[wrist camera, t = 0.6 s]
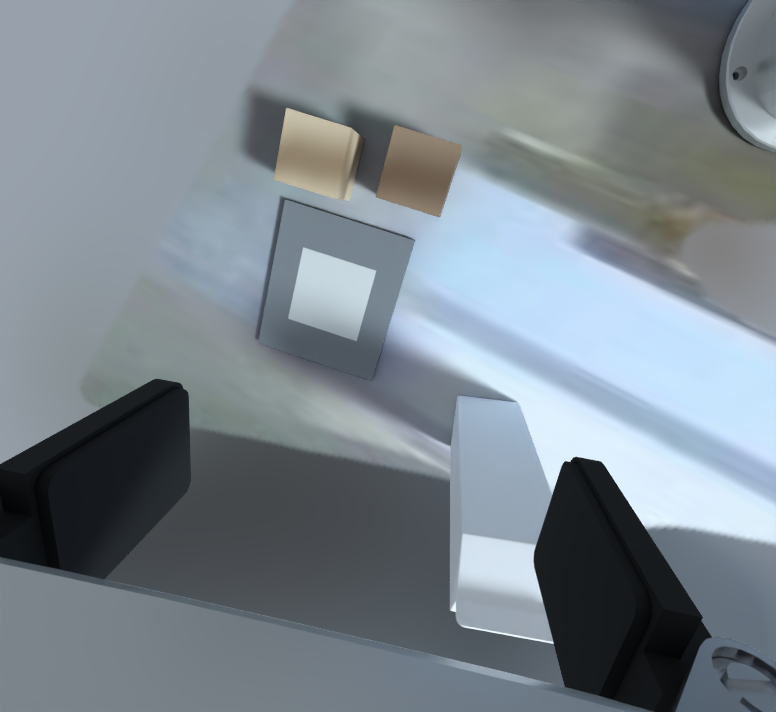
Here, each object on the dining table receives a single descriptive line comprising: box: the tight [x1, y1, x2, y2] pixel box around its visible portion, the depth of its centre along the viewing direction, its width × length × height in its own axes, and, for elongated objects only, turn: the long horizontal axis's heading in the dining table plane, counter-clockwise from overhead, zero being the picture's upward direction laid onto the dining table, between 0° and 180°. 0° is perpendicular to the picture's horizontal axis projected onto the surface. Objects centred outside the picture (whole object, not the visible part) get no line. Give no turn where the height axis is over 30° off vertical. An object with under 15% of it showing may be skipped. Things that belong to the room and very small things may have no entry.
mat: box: [258, 199, 415, 381], centre depth 39 cm, size 14×12×1 cm
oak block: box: [274, 108, 365, 201], centre depth 33 cm, size 5×5×5 cm
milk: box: [450, 395, 554, 644], centre depth 31 cm, size 6×6×22 cm
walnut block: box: [376, 125, 462, 217], centre depth 32 cm, size 5×5×5 cm
